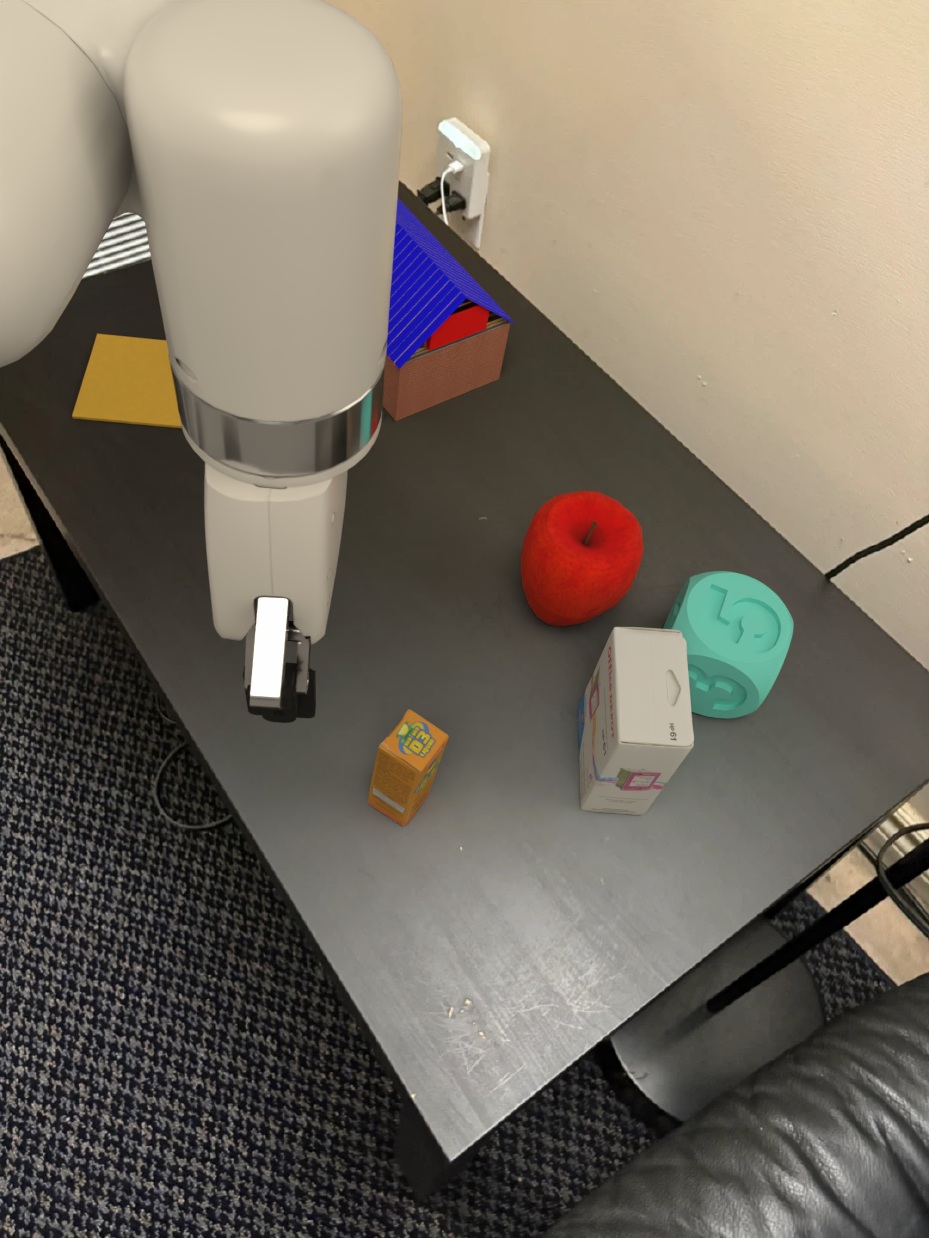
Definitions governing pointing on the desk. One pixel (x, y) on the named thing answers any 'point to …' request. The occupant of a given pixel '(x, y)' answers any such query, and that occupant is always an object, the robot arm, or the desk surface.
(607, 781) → the ink box
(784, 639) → the decorative dice
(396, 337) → the house
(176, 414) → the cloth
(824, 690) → the desk surface
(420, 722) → the supplement box
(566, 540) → the apple
